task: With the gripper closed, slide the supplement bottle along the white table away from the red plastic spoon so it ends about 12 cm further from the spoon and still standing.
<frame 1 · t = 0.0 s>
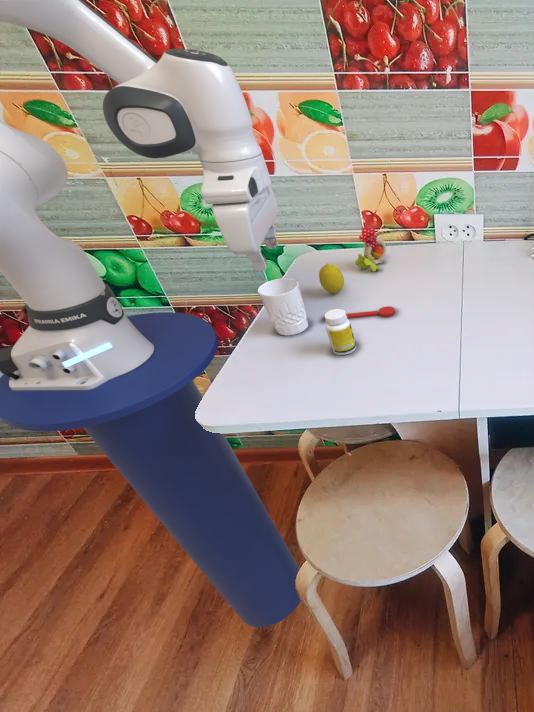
hand: (267, 257, 82), 21 cm above the table, tool pointing down, fingers open, 8 cm apart
white cup: (293, 328, 103), on the table
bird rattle: (374, 267, 127), on the table
spoon: (367, 315, 107), on the table
lemon: (336, 294, 115), on the table
supplement bottle: (345, 349, 96), on the table
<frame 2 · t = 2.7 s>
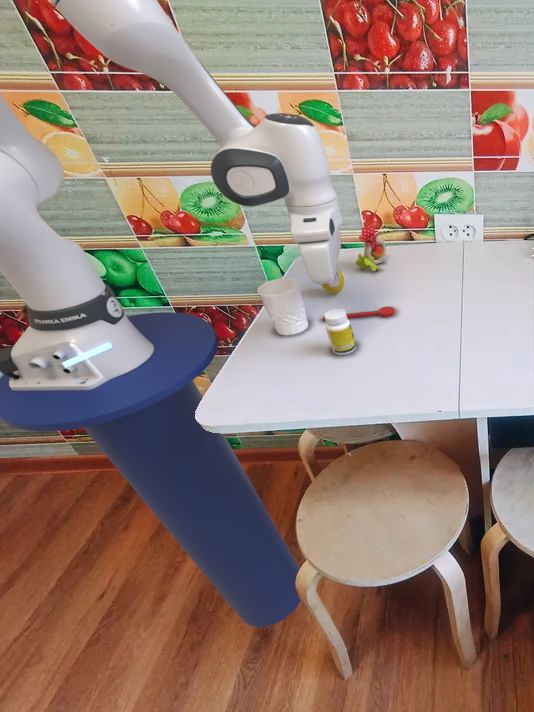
hand: (335, 283, 94), 12 cm above the table, tool pointing down, fingers closed
nothing on the table moved.
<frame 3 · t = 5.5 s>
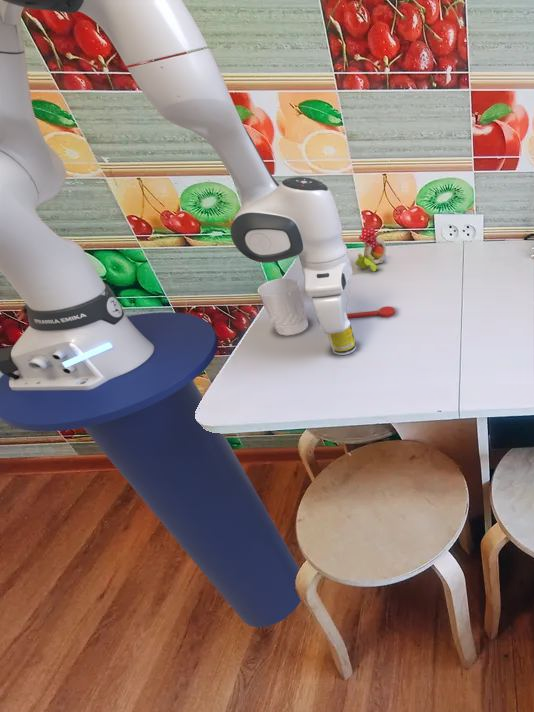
hand: (344, 328, 98), 2 cm above the table, tool pointing down, fingers closed
supplement bottle: (345, 349, 96), on the table, touching gripper
everything else where it was.
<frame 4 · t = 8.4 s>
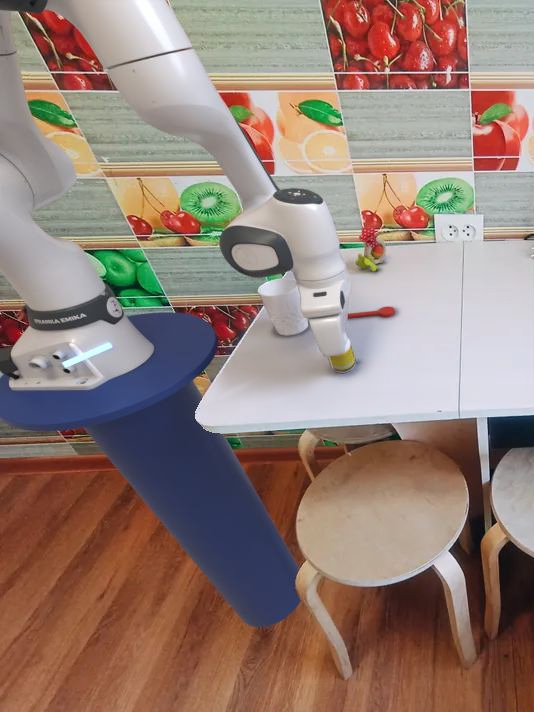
hand: (344, 347, 92), 3 cm above the table, tool pointing down, fingers closed
supplement bottle: (343, 364, 91), point 1 cm above the table, touching gripper
everything else where it was.
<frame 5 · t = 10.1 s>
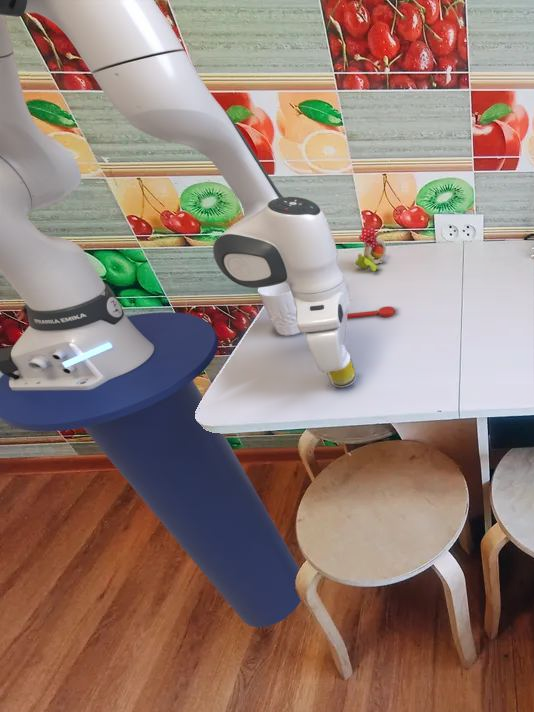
hand: (342, 361, 89), 3 cm above the table, tool pointing down, fingers closed
supplement bottle: (343, 378, 88), point 1 cm above the table, touching gripper
everything else where it was.
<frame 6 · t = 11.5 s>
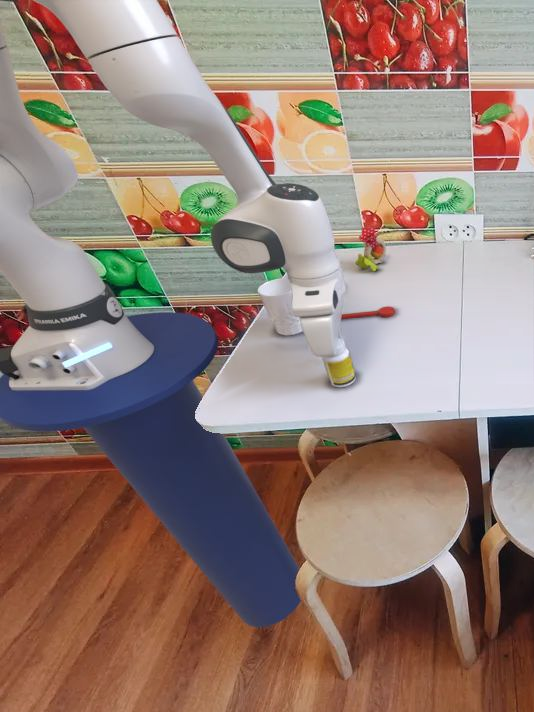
hand: (336, 348, 90), 4 cm above the table, tool pointing down, fingers closed
supplement bottle: (343, 381, 88), on the table
everything else where it was.
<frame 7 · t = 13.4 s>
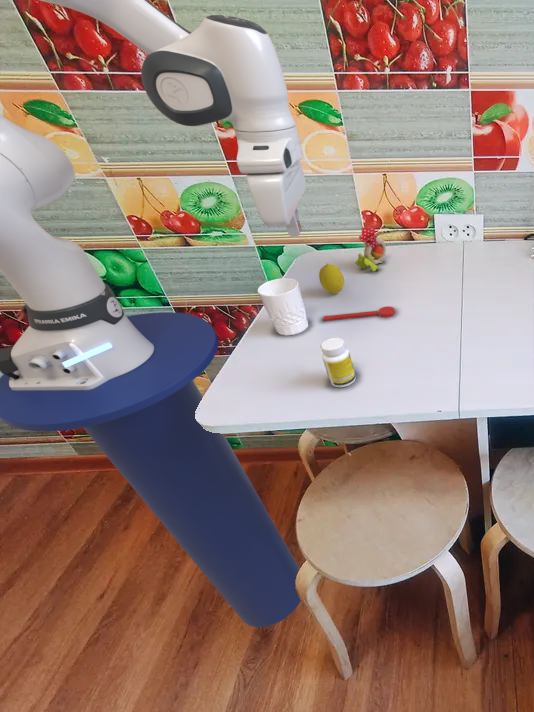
hand: (296, 233, 82), 24 cm above the table, tool pointing down, fingers closed
nothing on the table moved.
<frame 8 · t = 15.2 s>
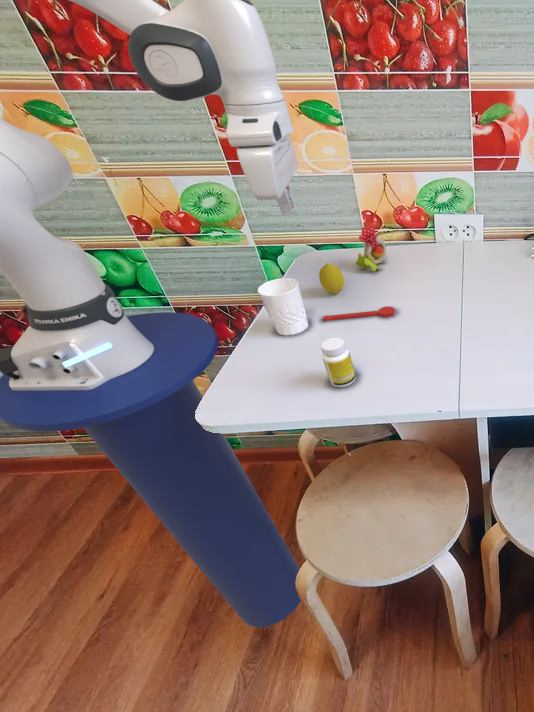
hand: (288, 210, 82), 27 cm above the table, tool pointing down, fingers closed
nothing on the table moved.
at the end: supplement bottle inside the target area (2.8 cm from its centre), on the table; supplement bottle tilted 0°; spoon moved 0.0 cm from its start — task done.
